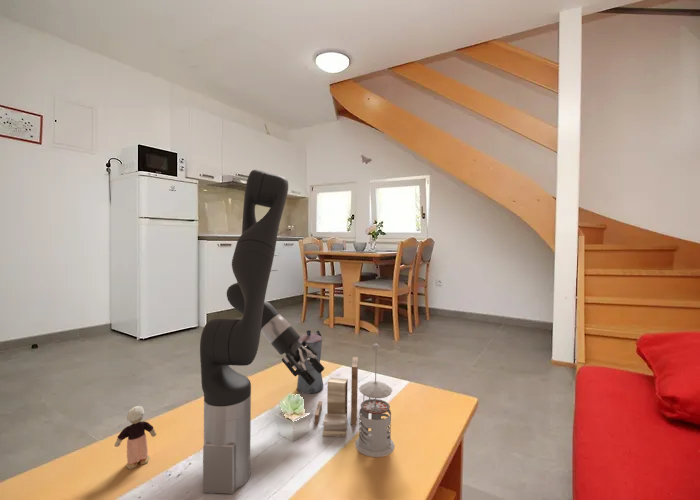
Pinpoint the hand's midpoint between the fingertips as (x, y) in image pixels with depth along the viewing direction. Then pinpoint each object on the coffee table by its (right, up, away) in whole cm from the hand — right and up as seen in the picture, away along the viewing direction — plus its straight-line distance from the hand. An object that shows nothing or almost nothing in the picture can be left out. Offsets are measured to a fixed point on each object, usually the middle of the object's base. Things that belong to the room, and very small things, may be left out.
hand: (317, 376), depth 96 cm
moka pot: (-4, -11, +19) cm, 23 cm away
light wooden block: (+6, -12, -1) cm, 13 cm away
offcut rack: (+6, -11, 0) cm, 13 cm away
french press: (+15, -12, -12) cm, 23 cm away
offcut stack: (+5, -12, -7) cm, 15 cm away
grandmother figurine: (-38, -12, -21) cm, 45 cm away
